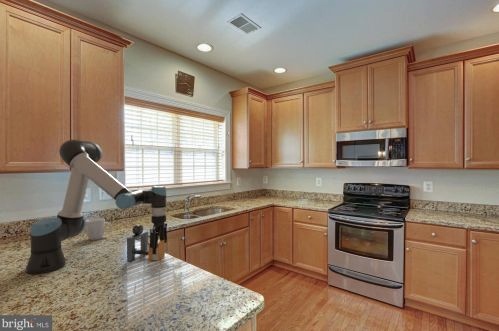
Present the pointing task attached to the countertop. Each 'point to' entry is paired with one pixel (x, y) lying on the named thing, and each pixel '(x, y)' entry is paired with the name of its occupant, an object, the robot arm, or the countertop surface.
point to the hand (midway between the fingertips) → (158, 257)
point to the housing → (131, 242)
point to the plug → (149, 251)
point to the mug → (96, 228)
